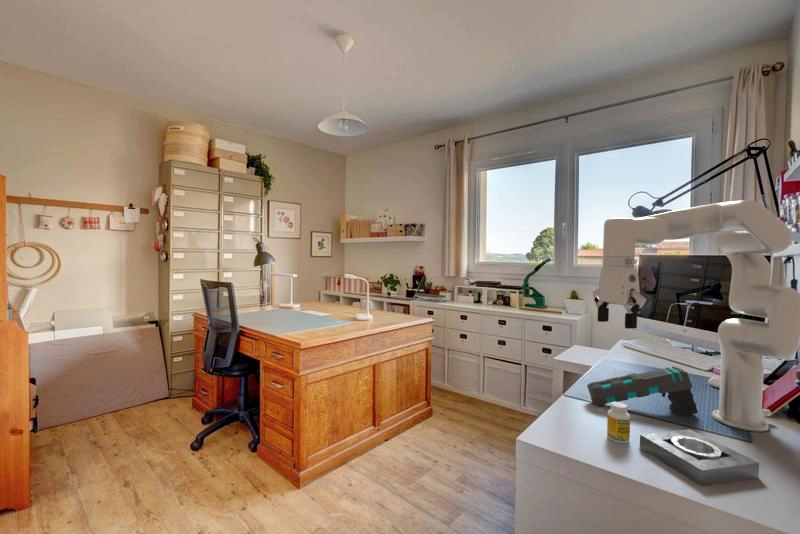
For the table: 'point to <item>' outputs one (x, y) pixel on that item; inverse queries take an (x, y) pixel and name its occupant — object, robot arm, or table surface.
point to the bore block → (699, 457)
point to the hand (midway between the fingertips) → (616, 324)
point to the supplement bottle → (618, 423)
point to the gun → (647, 389)
